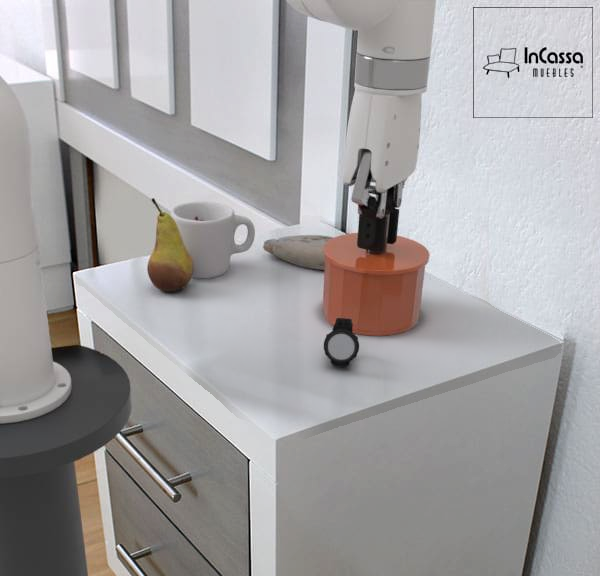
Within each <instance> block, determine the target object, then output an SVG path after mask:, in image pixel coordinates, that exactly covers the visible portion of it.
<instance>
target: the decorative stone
mask: <svg viewBox="0 0 600 576" xmlns="http://www.w3.org/2000/svg"><path fill="white" fill-rule="evenodd" d="M334 237H335V236H330V235H321V234H302V235H301V234H300V235H290V236H288V235H287V236H282V237H278V238H277V239H276V238H272V239H266V240H265V241H264V242H263V246H262V248H263V250H264V251H265V252H267V253H268V254H271V255H274V256H275V257H277V258H279V259H282V260H283V261H285V262H288V263H290V264H293V265H296V266H298V267H302V268H307V269H314V270H321V271H325V257H324V255H323V246H324V244H325V243H326V242H327V241H328V240H330V239H332V238H334Z"/></svg>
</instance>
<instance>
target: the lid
mask: <svg viewBox="0 0 600 576" xmlns="http://www.w3.org/2000/svg"><path fill="white" fill-rule="evenodd" d="M384 216H385V217H388V218H387V228H386V239H385V249H384V251H382V252H380V253H379V252H375V251H370V250H366V249H362V248H359V247H358V246H357V238H358V232H352V233H351V232H350V233H344V234H340V235H338V236H333V237H334V238H332V239H330V240H328V241H327V242H326V243H325V244H324V246H323V255H324V257H325V258H326V259H327V260H328V261H329V262H330V263H332V264H334V265H336V266H338V267H340V268H343V269H346V270H350V271H354V272H359V273H365V274H375V275H395V274H403V273H409V272H413V271H416V270H418V269H421V268H422V267H424V266H425V267H426V265H428V263H429V261H430V257H431V256H430V252H429V250H428V248H426V247H425V246H424V245H423V244H422V243H420V242H419V241H418V242H417V241H416V240H414V239H411V238H408V237H405V236H400V235H397V240H396V242H395V243H394V244H388V232H389V221H390V212H389V211H388V210H385V214H384Z"/></svg>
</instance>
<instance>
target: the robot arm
mask: <svg viewBox="0 0 600 576" xmlns="http://www.w3.org/2000/svg"><path fill="white" fill-rule="evenodd" d="M285 1H286V3H287V4H288V5H289V6H290V7H291V8H292V9H294V10H295V11H296V12H298V13H300V14H301V15H304V16H306V17H308V18H312V19H314V20H318V21H320V22H325V23H329V24H332V25H335V26H338V27H341V28H345V29H348V30H351V31H357V41H356V42H357V43H356V54H355V69H354V85H353V86H354V87H353V88H355V89H354V93H353V97H352V101H351V105H350V112H349V117H348V123H347V130H346V137H345V146H344V152H343V153H344V155H343V162H342V163H343V164H342V165H343V166H342V177H341V179H342V183H343V185H344V186H346V187H353V189H352V194H351V198H350V199H351V202H352V203H354V204H356V205H357V215H358V226H357V233H358V238H357V246H358V247H359V248H362V249H366V250H370V251H375V252H379V253H380V252H382V251H384V249H385V239H386V228H387V218H388V217H385V216H384V214H385V210H388V211H389V212H390V221H389V232H388V244H394V243H395V242H396V240H397V236H398V228H399V220H400V219H399V218H400V207H401V205H402V202H403V201H402V200H403V190H404V188H405V184H406V181H407V180H408V178H409V177H411V176H412V175H413V173H414V172H415V170H416V168H417V163H418V157H419V149H420V141H421V139H420V138H421V123H422V105H423V104H422V101H423V100H422V97H423V96H422V95H423V94H424V93H426V92H427V90H428V83H429V82H428V80H429V73H430V71H429V69H430V61H431V51H432V44H433V36H434V35H433V33H434V23H435V16H436V8H437V7H436V6H437V0H285ZM32 178H33V177H32V144H31V137H30V128H29V123H28V121H27V117H26V114H25V111H24V108H23V106H22V103H21V102H20V100H19V98H18V97H17V94H16V93H15V92H14V90H13V88H12V87H11V86H10V85H9V83H8V82H7V81H6V80H5V79H4V78H3V77H2V76H1V75H0V424H7V423H15V422H21V421H25V420H30V419H33V418H36V417H39V416H42V415H44V414H46V413H49V412H51V411H53V410H54V409H56V408H57V407H59V406H60V405H61V404H62V403H64V402H65V401H66V400H67V398H68V397H69V395H70V393H71V390H72V384H71V377H70V374H69V373H68V371H67V370H66V369H65V368H64V367H62V366H61V365H60V364H58V363H55V362H53V358H52V350H51V348H52V343H51V335H50V328H49V320H48V311H47V303H46V296H45V287H44V280H43V272H42V264H41V256H40V248H39V240H38V234H37V223H36V217H35V216H36V215H35V208H34V207H35V206H34V195H33V179H32ZM371 183H373V184H375V185H372V184H371ZM373 195H375V196H373Z"/></svg>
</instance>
